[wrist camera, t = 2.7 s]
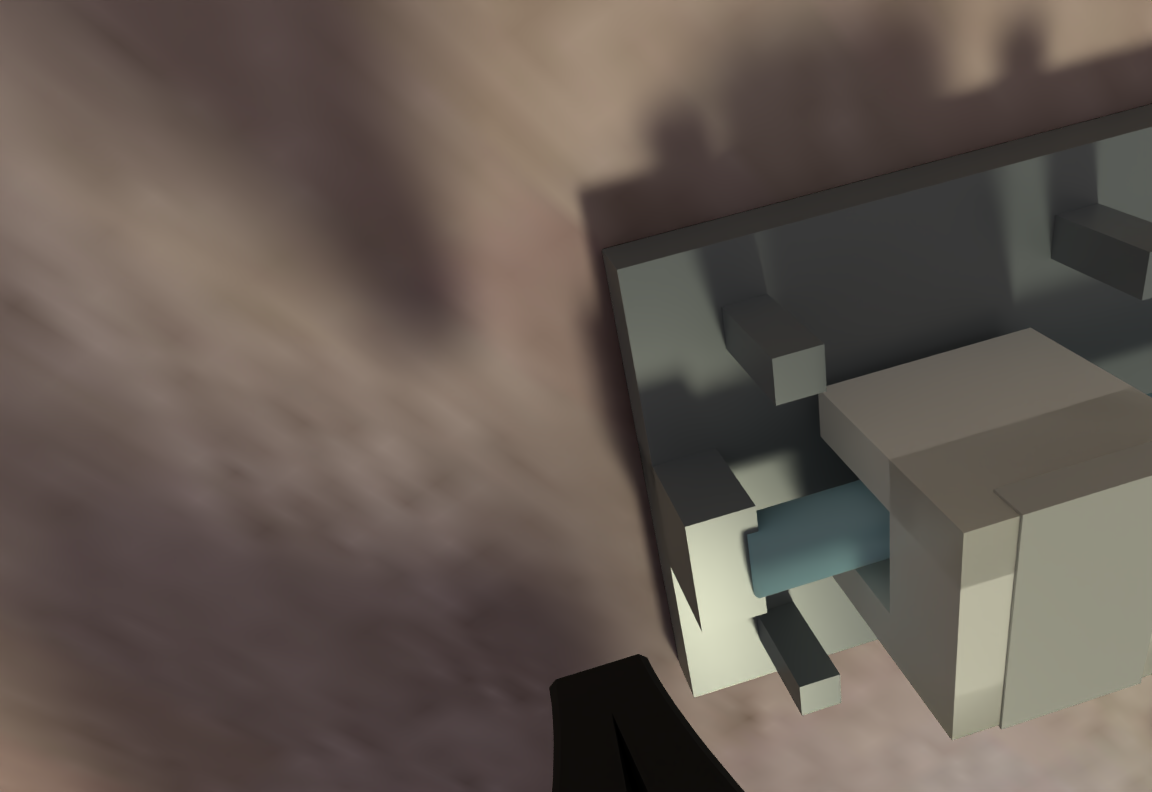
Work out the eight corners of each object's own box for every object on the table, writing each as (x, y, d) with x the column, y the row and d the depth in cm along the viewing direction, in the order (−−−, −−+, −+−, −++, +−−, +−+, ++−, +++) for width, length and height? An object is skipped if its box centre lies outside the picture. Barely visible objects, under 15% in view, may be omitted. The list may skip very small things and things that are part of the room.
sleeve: (827, 571, 16) (954, 744, 13) (817, 386, 14) (965, 533, 11) (1013, 514, 17) (1185, 668, 13) (1030, 325, 15) (1242, 447, 11)
